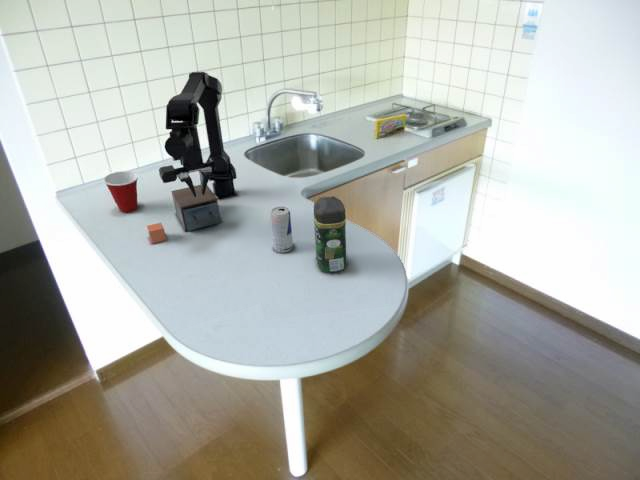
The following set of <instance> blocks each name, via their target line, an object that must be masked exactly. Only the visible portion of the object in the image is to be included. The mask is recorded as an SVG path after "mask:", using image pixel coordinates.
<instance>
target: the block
mask: <svg viewBox="0 0 640 480" xmlns="http://www.w3.org/2000/svg"><path fill="white" fill-rule="evenodd" d="M162 223H163V222H157V223H153V224H148V225H146V229H147V232H148V236H149V239H150V242H151V245H153V244H157V243H161V242H166V241H167V236H166V233H165V229H164V225H163V224H162Z"/></svg>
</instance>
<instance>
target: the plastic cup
mask: <svg viewBox="0 0 640 480" xmlns="http://www.w3.org/2000/svg"><path fill="white" fill-rule="evenodd" d="M102 179H103V180H102V182H103V183H104V184H105V185H106V187H107V189H108V191H109V192H110V194H111V196H112V199H113V200H114V203H115V204H116V206H117V208H118V210H119V211H120V212H121V213H123V214H125V213H127V214H128V213H132V212H135V211H136V210H138V208H139V207H138V206H139V205H138V187H137V186H138V179H139V174H138V173H137V172H135V171H130V170H121V171H115V172H111V173H108V174H106V175H104V177H103V178H102Z"/></svg>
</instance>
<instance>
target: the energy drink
mask: <svg viewBox="0 0 640 480" xmlns="http://www.w3.org/2000/svg"><path fill="white" fill-rule="evenodd" d="M291 219H292V218H291V211H290V209H289V207H287V206H275V207H274V208H272V209H271V210H270V222H271V231H272V240H273V249H274V250H275V251H276V252H278V253H288V252H290V251H291V250H293V247H294V243H293V230H292V220H291Z"/></svg>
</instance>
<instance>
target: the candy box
mask: <svg viewBox="0 0 640 480" xmlns="http://www.w3.org/2000/svg"><path fill="white" fill-rule="evenodd" d="M406 118H407V114H404V113H402V114H398V115H394V116H388V117H383V118H379V119H375V120H374V123H375V124H374V136H373V138H374V139H376V140H377V139H382V138H386V137H390V136H395V135H399V134H403V133H405V132H406V121H407V120H406Z"/></svg>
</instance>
